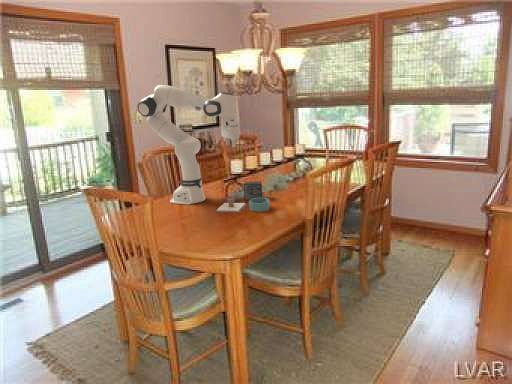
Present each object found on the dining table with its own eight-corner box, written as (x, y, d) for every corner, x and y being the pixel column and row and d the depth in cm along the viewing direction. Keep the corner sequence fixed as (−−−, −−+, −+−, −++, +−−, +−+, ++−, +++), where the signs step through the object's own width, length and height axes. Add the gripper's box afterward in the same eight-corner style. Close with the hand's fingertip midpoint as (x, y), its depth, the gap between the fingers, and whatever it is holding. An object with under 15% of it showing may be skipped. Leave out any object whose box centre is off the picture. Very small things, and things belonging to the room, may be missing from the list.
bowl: (247, 211, 221) (246, 203, 219) (253, 205, 231) (252, 197, 230) (266, 212, 218) (266, 203, 216) (271, 206, 228) (270, 197, 226)
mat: (214, 212, 224) (214, 211, 224) (224, 204, 238) (223, 203, 238) (239, 212, 220) (239, 212, 220) (247, 204, 234) (247, 203, 234)
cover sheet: (216, 211, 225) (216, 202, 224) (224, 203, 237) (224, 196, 236) (238, 211, 221) (237, 203, 220) (245, 204, 233) (244, 196, 232)
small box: (262, 197, 247) (261, 180, 244) (262, 200, 241) (260, 183, 238) (246, 197, 248) (244, 181, 245) (244, 200, 242) (243, 184, 239)
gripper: (217, 121, 231) (219, 144, 234) (229, 123, 213) (232, 149, 216) (227, 120, 233) (229, 143, 237) (240, 122, 215) (242, 147, 219)
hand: (231, 146), depth 226 cm, fingers open, 8 cm apart
